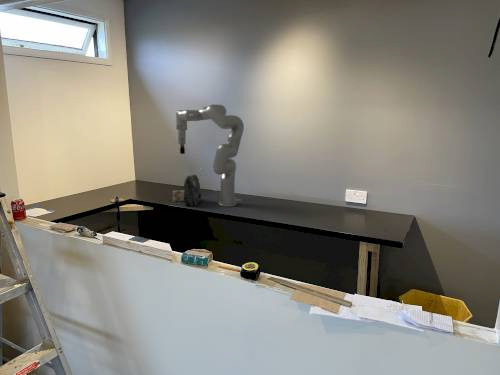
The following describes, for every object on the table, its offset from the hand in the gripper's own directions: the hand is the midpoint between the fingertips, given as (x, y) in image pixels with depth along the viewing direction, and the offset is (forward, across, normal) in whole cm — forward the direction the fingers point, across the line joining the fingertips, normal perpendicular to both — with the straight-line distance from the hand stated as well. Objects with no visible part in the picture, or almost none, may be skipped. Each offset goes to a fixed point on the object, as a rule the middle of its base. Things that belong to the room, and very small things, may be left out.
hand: (182, 153), depth 252 cm
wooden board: (+32, +11, +2) cm, 34 cm away
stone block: (+32, +21, +6) cm, 39 cm away
